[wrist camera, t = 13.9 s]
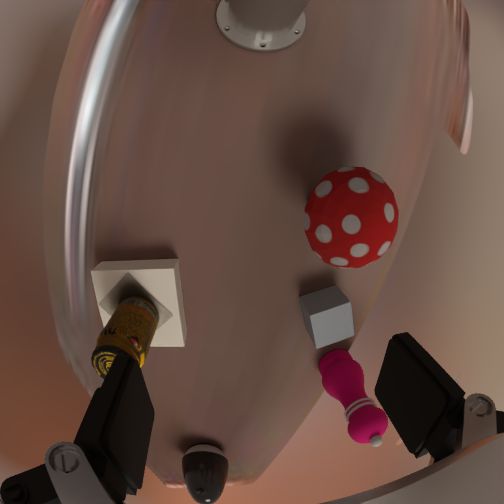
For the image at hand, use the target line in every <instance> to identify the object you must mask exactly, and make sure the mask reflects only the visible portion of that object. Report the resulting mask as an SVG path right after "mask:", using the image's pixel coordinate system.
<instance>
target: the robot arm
mask: <svg viewBox="0 0 504 504" xmlns="http://www.w3.org/2000/svg"><path fill="white" fill-rule="evenodd" d="M308 2H309V0H222V1H221V2H220V4H219V6H218V8H217V13H216V20H217V24H218V27H219V29H220V31H221V33H222V34H223V35H224V36H225V37H226V38H227V39H228V40H229V41H230V42H232V43H234V44H235V45H237V46H239V47H242V48H244V49H247V50H251V51H256V52H274V51H278V50H282V49H285V48H287V47H289V46H291V45H292V44H294V43H295V42H296V41H297V40H298V39H299V38H300V37H301V35H302V34H303V32H304V30H305V26H306V15H305V13H304V8H305V7H306V5H307V3H308ZM226 30H229V31H226ZM295 33H296V34H295ZM261 46H263V47H264V48H263V47H261ZM375 395H376V397H377V399H378V401H379V402H380V404H381V405H382V407H383V409H384V411H385V412H386V414H387V415H388V417H389V419H390V420H391V422H392V424H393V425H394V427H395V429H396V430H397V432H398V434H399V435H400V437H401V439H402V440H403V442H404V444H405V446H406V447H407V449H408V450H409V452H410V453H412V454H414V455H415V457H416V458H419V457H421V456H423V455H425V454H427V453H428V452H429V453H430V455H431V457H430V462H429V466H427V467H425V468H423V469H421V470H419V471H417V472H415V473H412V474H410V475H408V476H405V477H403V478H401V479H398V480H395V481H393V482H390V483H388V484H385V485H382V486H379V487H377V488H374V489H371V490H368V491H365V492H361V493H358V494H355V495H352V496H348V497H345V498H341V499H337V500H333V501H329V502H325V503H320V504H504V412H502V411H497V410H496V408H495V404H494V402H493V401H492V400H491V399H490V398H489V397H488V396H486V395H484V394H480V393H479V394H477V393H475V394H471V395H470V396H468V397H467V399H466V400H465V399H464V395H465V392H464V391H463V390H462V389H461V388H460V386H459V385H458V384H457V383H456V382H455V381H454V380H453V379H452V378H451V377H450V375H449V374H448V373H446V371H445V370H444V369H443V368H442V367H441V366H440V365H439V364H438V363H437V362H436V361H435V360H434V359H433V357H432V356H431V355H430V354H429V353H428V352H427V351H426V350H425V349H424V348H423V347H422V346H421V345H420V344H419V343H418V342H417V341H416V340H415V339H414V338H413V337H412V336H411V335H410V334H409V333H408V332H405V333H400V334H395V335H394V336H393V337H392V339H390V340H389V343H388V347H387V350H386V354H385V357H384V361H383V364H382V367H381V370H380V374H379V377H378V380H377V383H376V386H375ZM153 421H154V408H153V405H152V402H151V400H150V397H149V394H148V391H147V387H146V384H145V381H144V378H143V375H142V371H141V368H140V364H139V361H138V360H137V359H134V358H133V356H132V355H116V356H115V358H114V360H113V362H112V364H111V366H110V369H109V371H108V373H107V375H106V377H105V379H104V382H103V384H102V386H101V388H97V389H96V391H95V393H94V395H93V397H92V400H91V402H90V404H89V407H88V409H87V411H86V414H85V416H84V418H83V421H82V423H81V425H80V428H79V430H78V432H77V435H76V438H75V440H74V442H73V443H71V442H58V443H56V444H54V445H52V446H51V447H50V448H49V449H48V450H47V452H46V454H45V459H44V460H45V464H42V465H40V466H38V467H35V468H33V469H30V470H28V471H25V472H23V473H20V474H17V475H14V476H12V477H9V478H7V479H6V480H5V481H4V482H3V483H2V485H1V488H0V495H1V496H0V504H125V502H124V500H125V498H126V494H130V495H136V492H137V489H141V487H142V483H143V477H144V470H145V464H146V459H147V453H148V447H149V442H150V437H151V431H152V426H153Z"/></svg>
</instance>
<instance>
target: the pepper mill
mask: <svg viewBox="0 0 504 504" xmlns="http://www.w3.org/2000/svg"><path fill="white" fill-rule="evenodd" d="M319 371H320V373H321V376H322V384H323V387H324V388H325V390H326V391H327V393H329V394H330V395H331V396H332V397H334V398H336V399H337V400H339V401H340V402H341V403H342V405H343V406H344V408H345V413H344V416H345V418H346V421H347V422H348V423H349V424H348V433H349V435H350V437H351V438H352V439H353V440H354V441H356V442H358V443H370V444H371V445H372V446H373V447H378V446H380V445H381V443H382V437H381V436H382V435H383V434H384V433H385V431H386V429H387V426H388V418H387V416H386V414H385V412H384V411H383V410H382V409H380V408H377V405H376V404H375V402H374V400H373V399H371V398H368V397H367V395H366V393H365V390H364V375H363V370H362V368H361V366H360V364H359V363H357V362H356V361H354V360H353V359H352V357H351V355H350V354H349V353H348V352H347V351H346V350H342V349H337V350H333V351H331V352H329V353H327V354H326V355H325V356H324V357H323V358H322V359H321V361H320V362H319Z"/></svg>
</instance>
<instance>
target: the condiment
mask: <svg viewBox="0 0 504 504" xmlns="http://www.w3.org/2000/svg"><path fill="white" fill-rule="evenodd" d="M99 305H100V306H101V307H102V308H103V309H104V310H105V311H106V312H107V313H108V314H109V315H110V316H111V318H110V320H109V321H108V323H107V324H106V326H105V327H104V328H103V330H102V332H101V333H100V335H99V337H98V339H97V346H96V348H95V350H94V351H93V354H92V357H91V359H92V365H93V367H94V369H95V370H96V372H97V373H98V374H99V375H100V376H101V377H102V378H103V379H105V377H106V375H107V373H108V371H109V369H110V366H111V364H112V362H113V360H114V358H115V356H116V355H132V356H133V358H134V359H137V360H138V361H139V364H140V368H141V367H142V365H143V364H144V362H145V359H146V357H147V353H148V351H149V347H150V345H151V342H152V339H153V337H154V334H155V331H156V330H157V329H158V328H160V327H161V326H162V325H163V324H164V323H165V322H167V321H168V320H169V319H170V318H171V317H172V316H173V315H172V314H171V313H170V312H169V311H168V310H167V309H166V308H165V307H163V306H162V305H161V304H160V303H159V302H158V301H157V300H156V299H155V298H154V297H153V296H151V295H150V294H149V293H148V292H147V291H146V290H145V289H144V288H143V287H142V286H141V285H140V284H139V283H138V282H137V281H136V280H134V279H133V278H132V277H131V276H130V275H129V274H128V273H126V274H125V275H124V276H123V278H122V279H121V280H120V281H119V282H118V283H117V284H116V285H115V286H114V287H113V288H112V289H111V291H110V292H109V293H108V294H107V295H106V296H105V297H104V298H103V299H102V301H101V302H100V303H99Z"/></svg>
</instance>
